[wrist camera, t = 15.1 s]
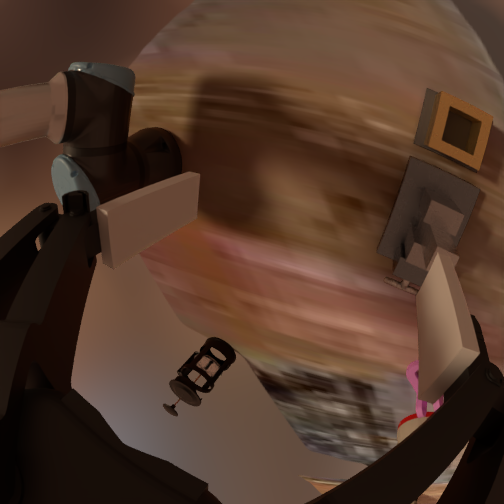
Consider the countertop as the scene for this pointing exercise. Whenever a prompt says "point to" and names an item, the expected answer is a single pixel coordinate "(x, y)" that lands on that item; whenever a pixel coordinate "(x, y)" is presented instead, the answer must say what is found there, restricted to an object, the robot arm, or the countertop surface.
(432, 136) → the orange-brown square frame
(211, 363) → the french press
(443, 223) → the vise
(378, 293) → the countertop surface
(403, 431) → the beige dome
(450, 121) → the rubber mat
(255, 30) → the countertop surface
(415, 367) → the bracket
